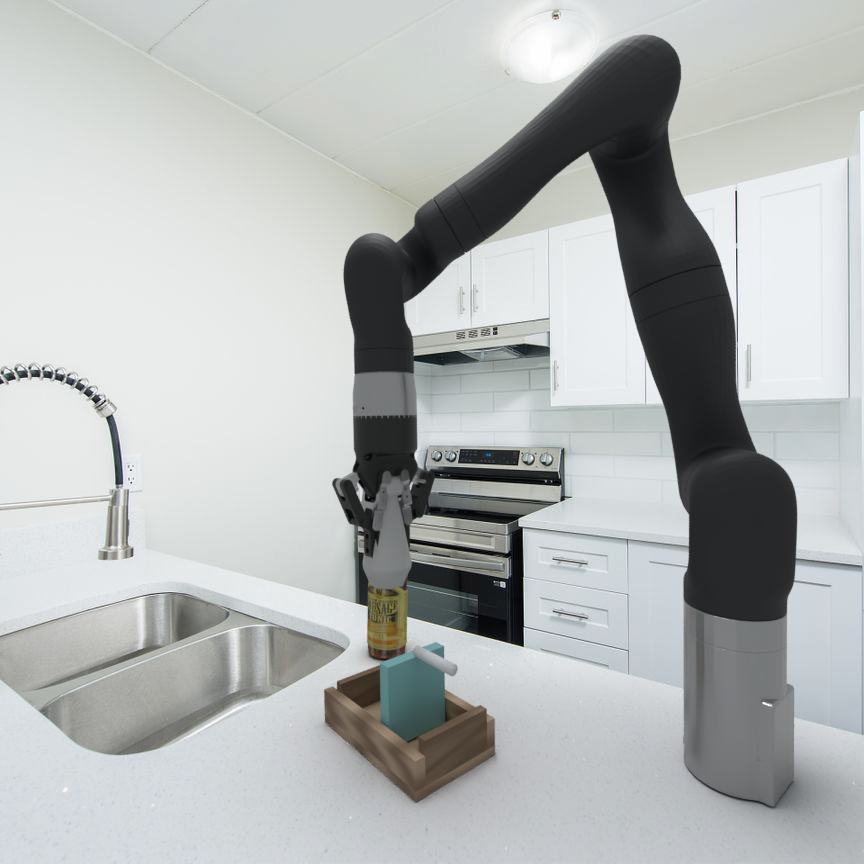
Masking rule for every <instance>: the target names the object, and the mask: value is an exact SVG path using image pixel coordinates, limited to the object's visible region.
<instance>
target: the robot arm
mask: <svg viewBox="0 0 864 864" xmlns="http://www.w3.org/2000/svg"><path fill="white" fill-rule="evenodd" d="M681 80H682V65H681V61H680V56H679V55H678V52H677V51H676V49H675V48H674V46H673V45H672V44H671V43H670V42H668V41H667V40H665V39H664V38H662V37H659V36H657V35H653V34H646V33H645V34H636V35H631V36H628V37H625V38H623V39H621V40H619V41H617V42H615V43H614V44H612V45H610V46H609V47H608V48H606V49H605V50H604V51H603V52H602V53H600V55H599V56H597V57H596V58H595V59H594V60H593V61H592V62H591V63H590V64H589V65H588V66H586V68H584V70H583V71H582V72H581V73H580V74H579V75H578V76H577V77H575V79H574V80H573V81H571V82H570V84H568V85H567V86H566V87H565V89H563V90H562V91H561V92H560V93H559V94H558V95H557V96H556V97H555V98H553V100H552V101H551V102H549V103H548V104H547V106H545V107H544V108H543V109H542V110H541V111H540V112H539V113H537V115H536V116H534V117H533V119H531V120H530V121H529V122H528V123H527V124H526V125H525V126H523V127H522V128H521V129H520V130H519V131H518V132H517V133H516V134H515V135H513V136H512V137H511V138H510V139H508V140H507V142H505V143H504V144H503V145H501V147H499V148H498V149H497V150H496V151H494V152H493V153H492V154H491V155H489V156H488V157H487V158H486V159H484V160H483V161H481V162H480V163H479V164H478V165H476V166H475V167H474V168H473V169H471V170H469V171H468V172H467V173H465V174H464V175H462V176H461V177H460V178H458V179H457V180H456V181H454V182H452V183H451V184H450V185H448V186H447V187H446V188H445V189H442V190H441V191H440V192H438V193H437V194H436V195H434V196H433V198H431V199H429V200H428V201H426V202H425V203H424V204H423V205H421V206H420V207H419V208H418V209H417V211H416V212H415V213H414V219H413V220H414V224H413V227H412V228H411V229H410V230H408V231H407V232H406V233H405V234H404V235H403V236H402V237H401V238H400V239H399V240H397V242H396V241H395V240H394V239H392V238H391V237H389V236H387V235H384V234H382V233H378V232H370V233H365V234H363V235H361V236H359V237H357V238H356V239H355V240H354V241H353V243H351V245H350V247H349V248H348V250H347V253H346V254H345V258H344V262H343V272H342V273H343V274H342V275H343V288H344V294H345V300H346V304H347V305H346V306H347V310H348V316H349V321H350V325H351V328H352V332H353V363H354V365H353V367H354V368H353V369H354V375H353V376H354V377H353V379H354V380H353V386H352V387H353V388H352V425H353V433H352V434H353V451H354V455H355V462H354V464H353V465H352V470H351V472H350V473H348V474H347V475H345V476H343V477H341V478H339V477H335V478H334V479H333V480H332V483H331V486H332V488H333V490H334V492H335V494H336V496H337V499H338V502H339V504H340V506H341V509H342V510H343V513H344V516H345V517H346V518H345V519H346V521H348V524H349V525H352V526H355V527H359V528H361V529H362V530H363V554H364V553H365V556H368V557H371V558H373V552H374V545H375V540H376V543H377V547H378V543H379V536H380V531H378V530H380V528H381V525H382V516H383V511H384V510H385V509H386V505H387V497H388V494H387V488H386V487H387V486H389V485H390V483H391V476H397V477H399V479H400V480H401V483H402V485H403V490H402V494H401V495H399V496H398V498H399V504H400V508H401V513H402V518H403V523H404V528H405V533H406V537H407V542H408V547H409V549H410V548H411V531H410V530H411V528H410V526H411V524H412V523H413V521H415V520H416V519H421V518H423V517H424V514H425V511H426V508H427V505H428V502H429V501H428V500H429V498H430V496H431V491H432V488H433V486H434V482H435V478H436V474H435V472H434V471H431V470H425V469H423V468H420V467H419V466H418V462H417V460H416V457H415V456H416V455H415V454H416V452H417V450H418V447H419V445H418V411H417V410H418V408H417V407H418V405H417V404H418V403H417V399H418V398H417V388H416V381H415V374H414V373H415V359H414V358H415V356H414V355H415V354H414V353H415V352H414V350H415V349H414V340H413V339H414V338H413V334H412V331H411V329H410V327H409V325H408V323H407V320H406V315H405V313H406V312H405V303H408V302H409V301H411V300H412V299H414V298H415V297H417V296H418V295H419V294H421V293H422V292H423V291H424V290H426V288H427V287H428V286H429V285H431V284H432V283H433V282H434V281H435V280H436V279H437V277H438V278H439V276H440V275H441V274H442V273H443V272H444V271H445V270H446V269H447V267H449V266H450V265H451V264H452V263H453V262H454V261H455V260H457V259H459V258H461V257H462V256H464V255H466V254H467V253H469V251H472V250H473V249H475V248H476V247H478V246H479V245H481V243H483V242H485V241H487V240H488V239H489V238H490V237H492V236H493V235H495V234H496V233H497V232H499V231H500V230H502V229H503V228H504V227H505V226H506V225H508V223H509V222H511V221H512V220H513V219H514V218H515V217H516V216H517V215H518V214H519V213H520V212H522V210H523V209H524V208H525V207H526V206H527V205H528V204H529V203H530V202H531V201H532V200H533V199H534V198H535V197H536V195H538V194H539V192H541V191H542V190H543V188H544V187H546V186H547V184H549V182H551V181H552V180H553V179H554V178H555V177H556V176H557V175H559V174H560V173H561V172H562V171H563V170H565V169H566V168H567V167H568V166H570V165H571V164H572V163H573V162H575V161H576V160H578V159H579V158H580V157H583V155H585V154H587V153H588V155H589V157H590V159H591V162H592V164H593V166H594V169H595V172H596V173H597V176H598V179H599V181H600V185H601V187H602V190H603V192H604V195H605V196H606V200H607V203H608V206H609V209H610V212H611V216H612V217H611V218H612V219H613V220H612V221H613V225H614V232H615V238H616V244H617V250H618V256H619V259H620V265H621V270H622V273H623V279H624V283H625V287H626V293H627V296H628V300H629V301H628V302H629V305H630V307H631V308H630V310H631V312H632V317H633V319H634V323H635V326H636V327H635V328H636V330H637V333H638V336H639V339H640V343H641V345H642V349H643V352H644V355H645V358H646V362H647V363H648V367H649V370H650V373H651V375H652V378H653V381H654V383H655V385H656V388H657V391H658V395H660V399H661V402H662V404H663V407H664V410H665V413H666V418H667V422H668V427H669V433H670V438H671V444H672V451H673V457H674V463H675V470H676V471H675V473H676V479H677V480H676V481H677V487H678V495H679V499H680V502H681V503H682V506H683V508H684V510H685V511H686V513H687V514H688V560H687V567H686V571H685V572H684V574H683V580H682V581H683V583H682V584H683V585H682V587H683V588H682V589H683V592H682V593H683V596H682V597H683V736H682V737H683V738H682V739H683V741H682V742H683V760H684V763H685V765H686V767H687V769H688V770H689V771H690V773H692V775H693V776H695V778H697V780H699V781H700V782H702V783H704V784H705V785H707V786H708V787H710V788H712V789H714V790H716V791H718V792H720V793H723V794H726V795H728V796H731V797H735V798H740V799H743V800H749V801H755V802H756V801H757V802H761V803H763V804H765V805H767V806H769V807H774V806H776V804H777V803H778V801H779V800H780V799H781V797H782V796H783V795H784V793H785V792H786V791H787V789H788V788H789V786H790V785H791V784H792V783H793V781H794V779H795V687H794V685H792V684H790V683H787V682H788V681H787V680H788V674H787V673H788V599H789V595H790V593H791V592H792V590H793V586H794V583H795V580H796V579H795V578H796V566H797V565H796V564H797V563H796V562H797V542H798V541H797V540H798V503H797V501H798V500H797V494H796V491H795V486H794V483H793V481H792V479H791V477H790V475H789V474H788V472H787V471H786V470H785V468H783V467H782V466H781V465H780V463H778V462H777V461H775V460H774V459H772V458H770V457H769V456H766V455H764V454H762V453H759V452H758V451H757V448H756V447H755V445H754V441H753V440H752V439H753V438H752V436H751V434H750V431H749V428H748V426H747V423H746V419H745V417H744V414H743V410H742V408H741V403H740V400H739V399H740V398H739V393H738V387H737V338H736V337H737V336H736V335H737V334H736V333H737V332H736V321H735V320H736V319H735V313H734V308H733V302H732V298H731V295H730V291H729V288H728V284H727V280H726V277H725V273H724V270H723V266H722V262H721V259H720V256H719V254H718V251H717V249H716V247H715V245H714V243H713V241H712V239H711V237H710V236H709V233H708V232H707V231H706V230H705V228H704V226H703V225H702V223H701V222H700V220H699V219H698V217H697V216H696V215H695V213H694V212H693V210H692V209H691V207H690V206H689V204H688V203H687V201H686V200H685V198H684V195H683V193H682V191H681V189H680V188H681V187H680V186H679V183H678V180H677V175H676V171H675V166H674V162H673V157H672V152H671V151H672V150H671V146H670V145H671V144H670V136H669V124H670V123H669V122H670V119H671V116H672V114H673V110H674V107H675V105H676V101H677V99H678V96H679V92H680V86H681ZM358 485H359V486H360V488H361V489H362V494H361V496H362V497H361V500H360V498H359V495H358V492H359V487H358ZM372 499H375V500H376V501H375V502H373V500H372ZM371 516H372V517H371Z"/></svg>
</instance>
